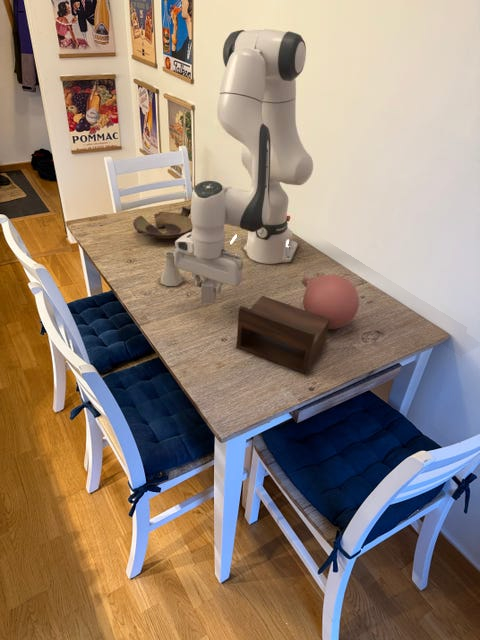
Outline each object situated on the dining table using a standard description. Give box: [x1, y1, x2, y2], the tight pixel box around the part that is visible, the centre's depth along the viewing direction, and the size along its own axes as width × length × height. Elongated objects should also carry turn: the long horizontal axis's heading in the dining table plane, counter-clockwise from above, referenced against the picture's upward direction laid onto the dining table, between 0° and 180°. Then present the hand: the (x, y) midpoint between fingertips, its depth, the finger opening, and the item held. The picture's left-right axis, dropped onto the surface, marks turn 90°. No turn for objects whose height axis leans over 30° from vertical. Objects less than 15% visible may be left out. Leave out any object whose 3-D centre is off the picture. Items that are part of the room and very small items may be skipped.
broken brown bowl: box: [132, 203, 193, 239], centre depth 168 cm, size 22×30×8 cm
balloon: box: [301, 273, 360, 330], centre depth 125 cm, size 15×20×15 cm
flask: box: [160, 250, 183, 287], centre depth 139 cm, size 7×7×10 cm
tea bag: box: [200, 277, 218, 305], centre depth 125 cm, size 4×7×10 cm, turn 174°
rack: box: [235, 295, 330, 376], centre depth 114 cm, size 14×20×13 cm
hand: (208, 289), depth 124 cm, fingers closed on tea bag, 4 cm apart
